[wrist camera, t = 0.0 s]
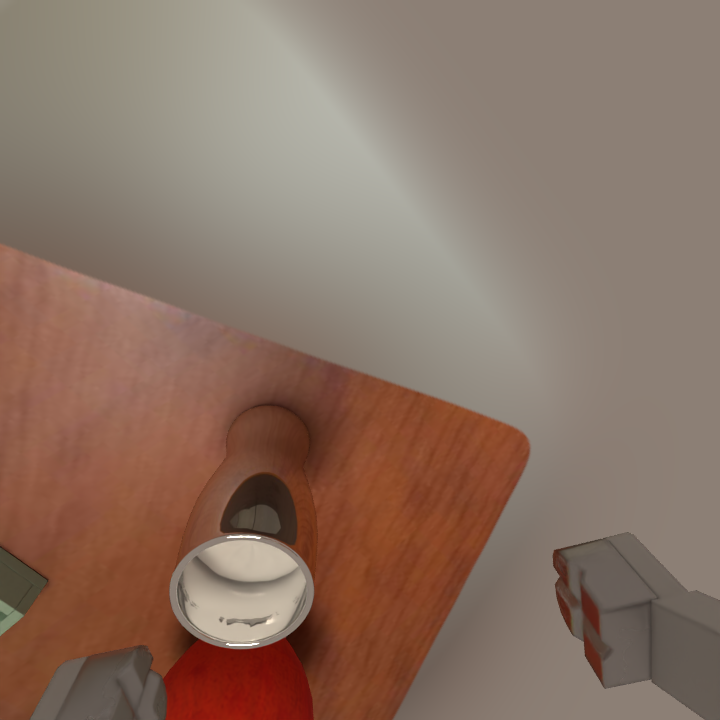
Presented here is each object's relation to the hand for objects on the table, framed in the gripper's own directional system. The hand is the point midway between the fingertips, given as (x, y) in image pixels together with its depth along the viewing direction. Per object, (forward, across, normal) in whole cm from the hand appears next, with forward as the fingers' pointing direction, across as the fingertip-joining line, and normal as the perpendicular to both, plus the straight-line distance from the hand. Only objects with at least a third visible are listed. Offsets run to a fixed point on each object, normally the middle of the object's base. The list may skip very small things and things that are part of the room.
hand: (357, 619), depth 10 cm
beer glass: (+26, +6, +8) cm, 28 cm away
